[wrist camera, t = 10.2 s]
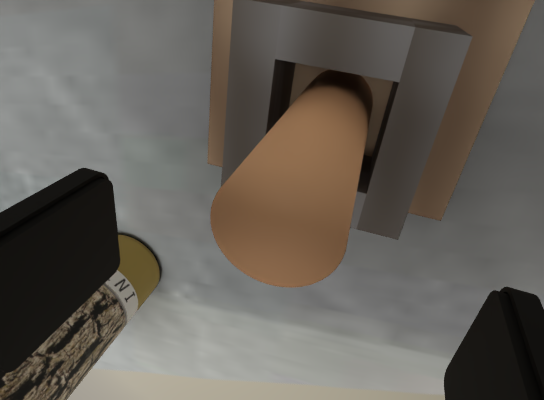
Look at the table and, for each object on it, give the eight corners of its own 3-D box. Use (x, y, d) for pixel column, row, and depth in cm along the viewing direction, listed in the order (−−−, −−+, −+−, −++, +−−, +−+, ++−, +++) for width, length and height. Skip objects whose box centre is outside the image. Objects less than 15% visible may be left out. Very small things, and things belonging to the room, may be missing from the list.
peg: (381, 75, 21) (363, 188, 10) (363, 142, 23) (331, 302, 12) (310, 62, 22) (213, 152, 10) (299, 128, 24) (208, 266, 12)
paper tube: (156, 299, 38) (-138, 684, 17) (96, 268, 38) (-265, 610, 17) (170, 252, 34) (-183, 667, 13) (103, 218, 35) (-343, 574, 14)
